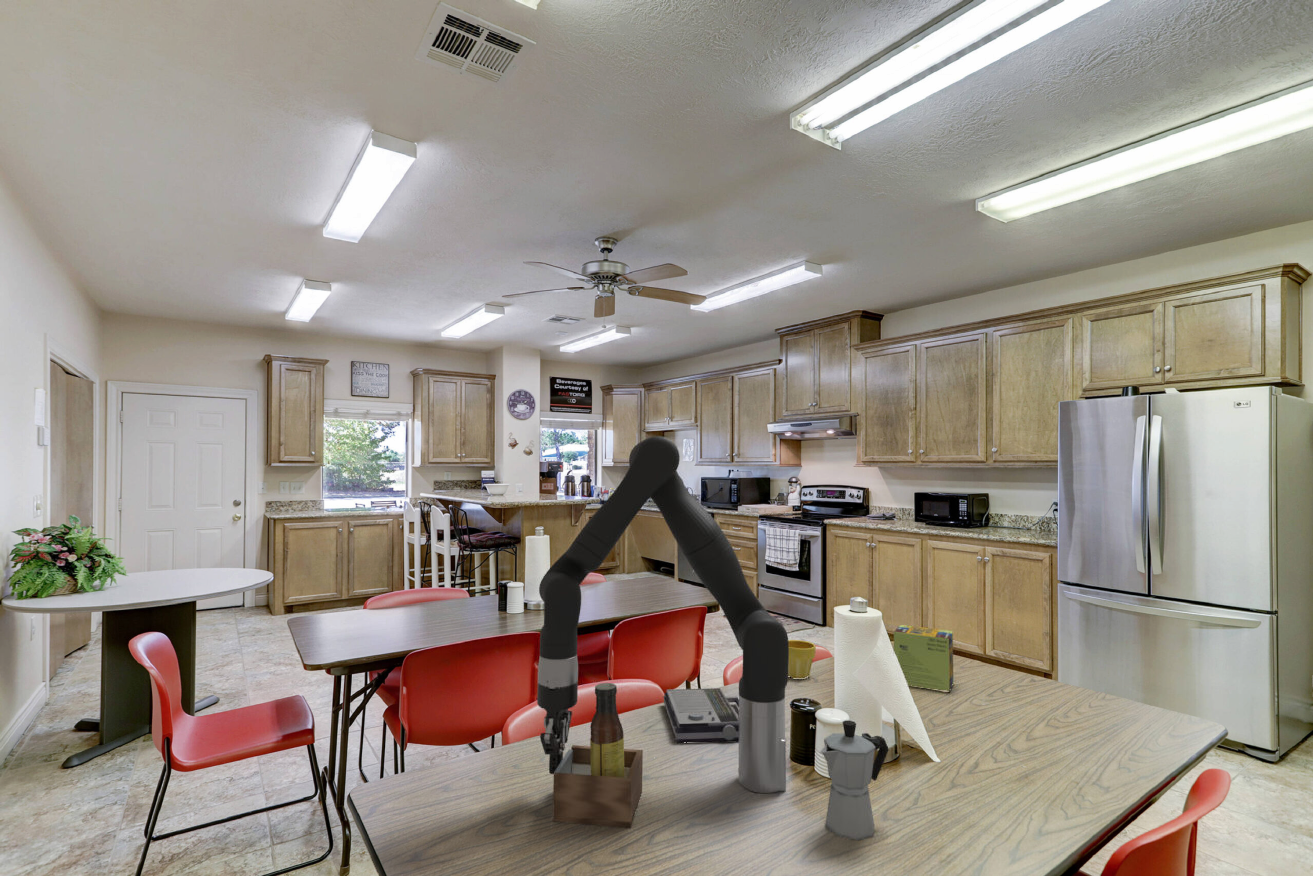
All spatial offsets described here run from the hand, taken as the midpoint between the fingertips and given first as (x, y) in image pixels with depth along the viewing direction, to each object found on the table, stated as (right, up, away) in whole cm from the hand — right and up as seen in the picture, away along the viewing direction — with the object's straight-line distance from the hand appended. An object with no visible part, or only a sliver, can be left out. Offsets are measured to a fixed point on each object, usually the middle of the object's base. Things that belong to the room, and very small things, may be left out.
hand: (555, 772), depth 121 cm
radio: (+32, -8, +39) cm, 51 cm away
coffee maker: (+54, -6, -7) cm, 55 cm away
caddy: (+8, -5, -2) cm, 10 cm away
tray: (+7, -4, -1) cm, 9 cm away
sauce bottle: (+10, -4, -2) cm, 11 cm away
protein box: (+98, -10, +69) cm, 121 cm away
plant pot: (+62, -10, +75) cm, 98 cm away
